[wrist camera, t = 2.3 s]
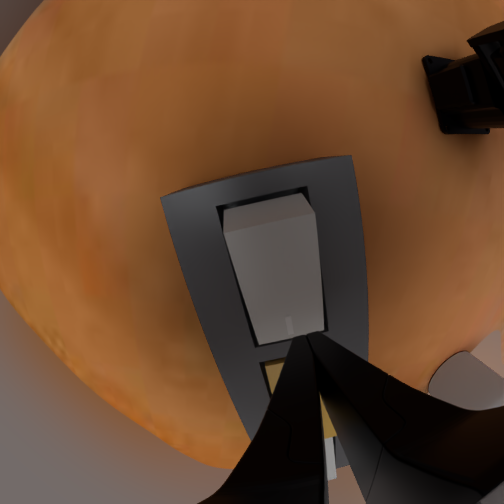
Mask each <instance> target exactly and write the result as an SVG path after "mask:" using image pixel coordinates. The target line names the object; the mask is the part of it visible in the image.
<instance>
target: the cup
mask: <svg viewBox="0 0 504 504" xmlns="http://www.w3.org/2000/svg"><path fill="white" fill-rule="evenodd" d="M429 393H430V395H431V396H433V397H435V398H438V399H440V400H443V401H445V402H448V403H450V404H453V405H456V406H458V407H461V408H464V409H469V410H485V409H490V408H495V407H500V406H504V378H502V377H501V376H500V375H499V374H497V373H496V372H494V371H493V370H492V369H491V368H489V367H488V366H486V365H485V364H484V363H483V362H481V361H480V360H478V359H477V358H475V357H474V356H473V355H471V354H470V353H469V352H467V351H463V352H460V353H457V354H455V355H454V356H452V357H451V358H449V359H448V360H447V361H446V362H444V363H443V364H442V365H441V366H440V368H439V369H438V370H437V371H436V373H435V374H434V376H433V377H432V379H431V381H430V384H429Z"/></svg>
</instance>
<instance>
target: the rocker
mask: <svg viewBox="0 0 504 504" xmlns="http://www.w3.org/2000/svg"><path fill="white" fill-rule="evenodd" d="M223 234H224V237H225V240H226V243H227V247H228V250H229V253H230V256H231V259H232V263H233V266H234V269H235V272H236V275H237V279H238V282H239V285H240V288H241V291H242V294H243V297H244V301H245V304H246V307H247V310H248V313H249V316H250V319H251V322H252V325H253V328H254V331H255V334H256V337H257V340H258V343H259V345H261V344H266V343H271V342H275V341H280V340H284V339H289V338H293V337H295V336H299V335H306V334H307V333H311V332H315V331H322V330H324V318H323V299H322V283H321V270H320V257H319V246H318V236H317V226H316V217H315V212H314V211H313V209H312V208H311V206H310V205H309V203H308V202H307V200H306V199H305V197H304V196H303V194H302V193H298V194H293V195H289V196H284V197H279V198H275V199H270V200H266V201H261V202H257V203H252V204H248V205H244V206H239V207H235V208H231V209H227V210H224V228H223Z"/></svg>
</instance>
